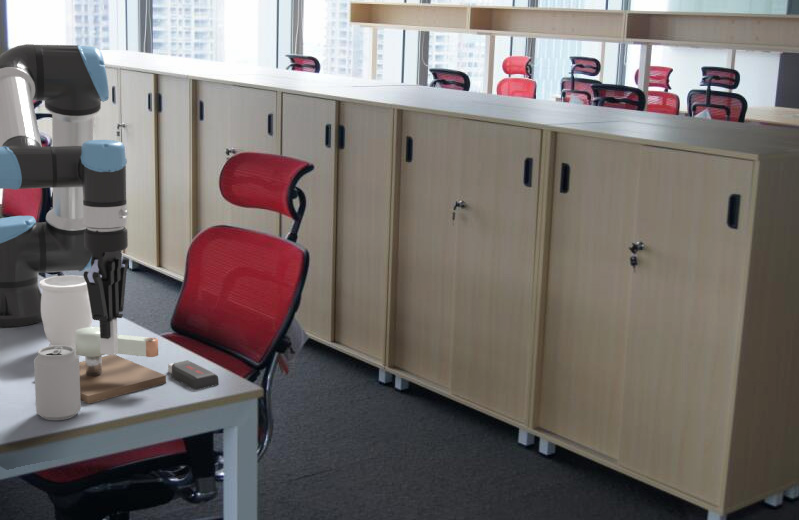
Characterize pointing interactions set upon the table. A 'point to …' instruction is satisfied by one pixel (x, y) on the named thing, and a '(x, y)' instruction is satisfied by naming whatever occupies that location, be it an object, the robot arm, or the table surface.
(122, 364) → the base plate
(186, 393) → the table surface
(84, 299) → the jar
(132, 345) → the tan-tipped lever stick
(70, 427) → the table surface
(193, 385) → the usb drive
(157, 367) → the table surface
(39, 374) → the can
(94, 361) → the stud
